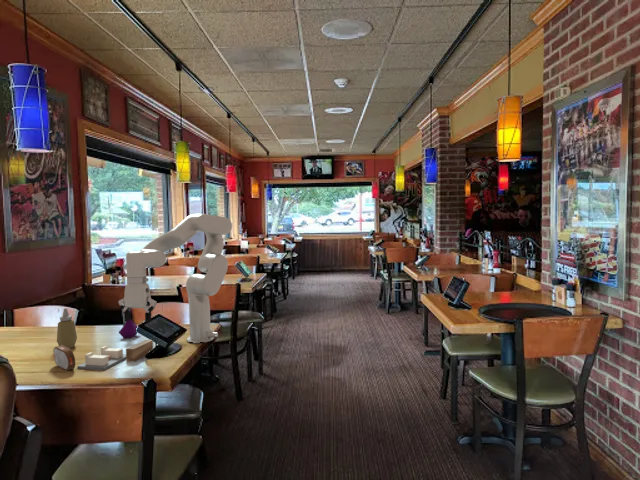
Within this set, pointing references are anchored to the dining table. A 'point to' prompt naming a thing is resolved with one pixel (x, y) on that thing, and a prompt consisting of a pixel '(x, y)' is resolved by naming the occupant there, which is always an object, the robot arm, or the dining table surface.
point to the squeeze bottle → (66, 331)
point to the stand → (103, 359)
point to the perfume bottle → (128, 329)
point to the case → (138, 350)
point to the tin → (64, 357)
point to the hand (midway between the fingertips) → (137, 321)
